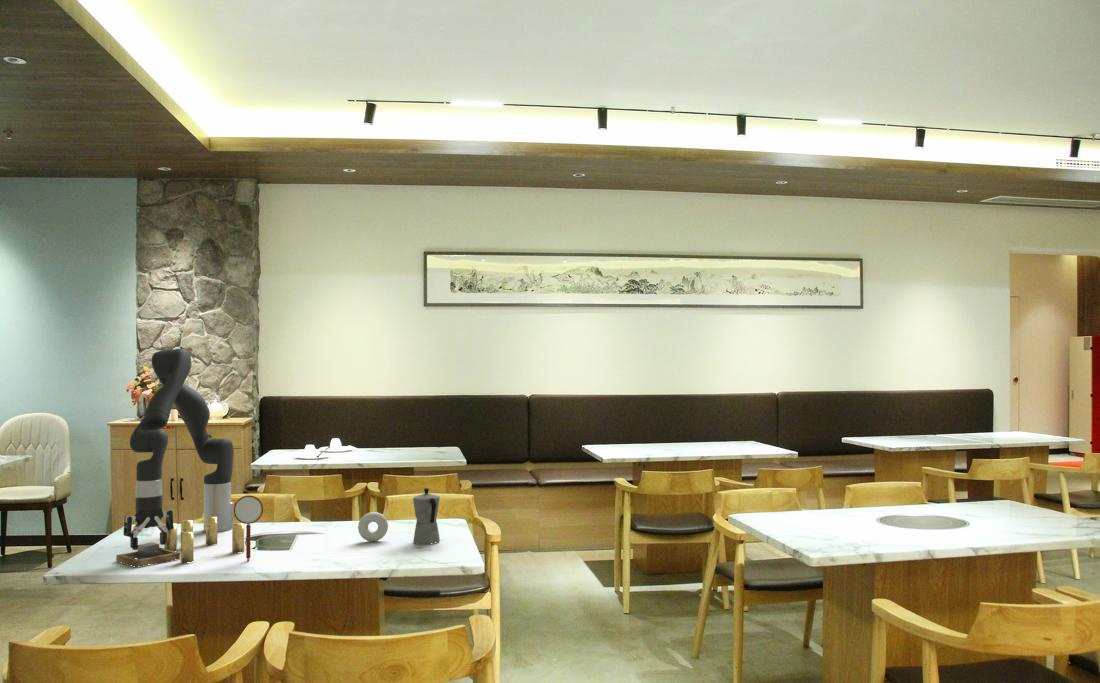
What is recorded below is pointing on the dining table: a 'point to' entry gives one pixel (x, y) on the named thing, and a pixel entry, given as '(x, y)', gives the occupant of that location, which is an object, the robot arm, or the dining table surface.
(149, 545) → the grey block
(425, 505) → the coffeepot
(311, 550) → the dining table surface
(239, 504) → the magnifying glass
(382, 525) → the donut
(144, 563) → the tray
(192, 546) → the standing stones
